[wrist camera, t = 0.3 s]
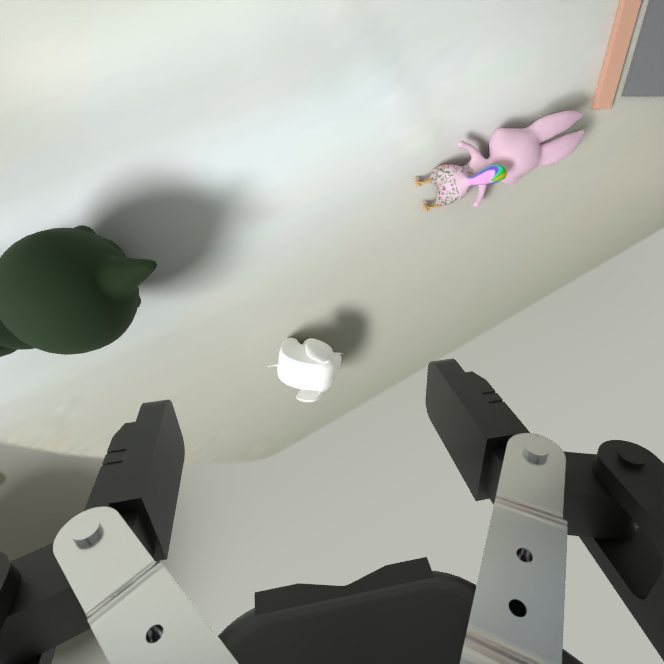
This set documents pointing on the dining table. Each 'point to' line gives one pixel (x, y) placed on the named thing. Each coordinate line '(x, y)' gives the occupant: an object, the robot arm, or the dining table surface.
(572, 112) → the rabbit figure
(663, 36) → the mat
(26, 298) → the dark green rounded piece
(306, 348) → the elephant figurine
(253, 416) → the dining table surface
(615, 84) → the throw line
